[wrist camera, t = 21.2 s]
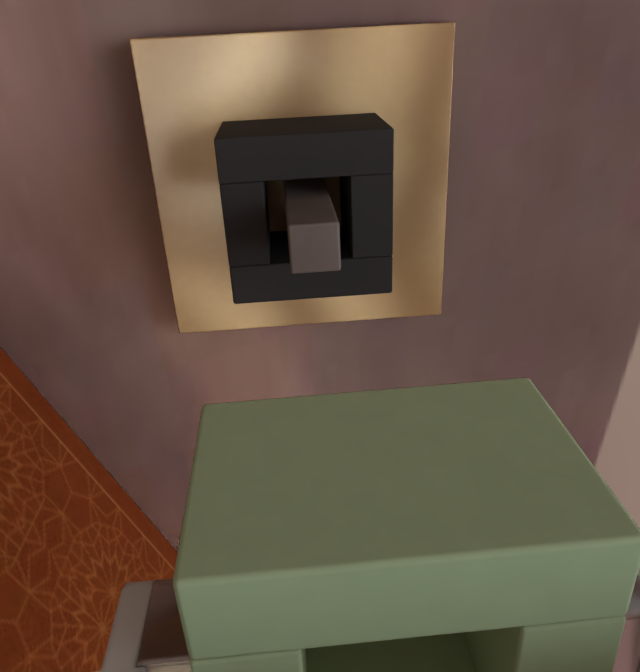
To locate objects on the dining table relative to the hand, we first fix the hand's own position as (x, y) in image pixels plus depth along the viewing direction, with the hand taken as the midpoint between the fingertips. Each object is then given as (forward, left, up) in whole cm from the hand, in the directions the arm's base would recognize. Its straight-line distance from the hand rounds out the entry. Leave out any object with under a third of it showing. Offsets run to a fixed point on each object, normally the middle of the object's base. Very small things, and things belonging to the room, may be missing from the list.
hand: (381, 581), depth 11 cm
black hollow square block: (0, -3, -17) cm, 18 cm away
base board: (0, -3, -19) cm, 19 cm away
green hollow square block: (0, 0, -2) cm, 2 cm away
